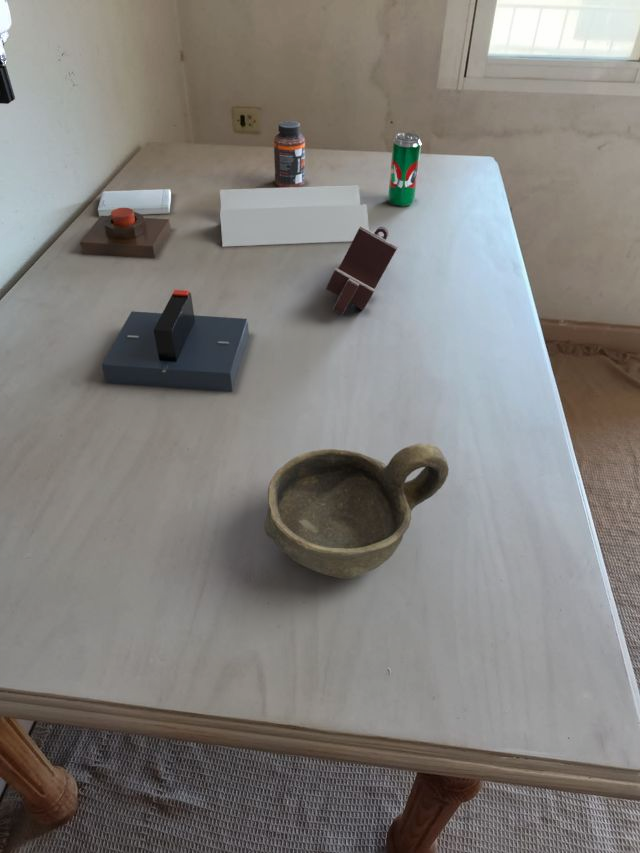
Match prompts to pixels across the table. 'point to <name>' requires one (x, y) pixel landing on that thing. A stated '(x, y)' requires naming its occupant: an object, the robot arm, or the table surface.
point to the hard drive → (135, 201)
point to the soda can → (404, 169)
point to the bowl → (349, 506)
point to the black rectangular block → (174, 326)
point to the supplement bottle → (289, 155)
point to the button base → (126, 237)
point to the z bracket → (291, 215)
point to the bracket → (361, 269)
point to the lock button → (123, 216)
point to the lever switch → (198, 361)
